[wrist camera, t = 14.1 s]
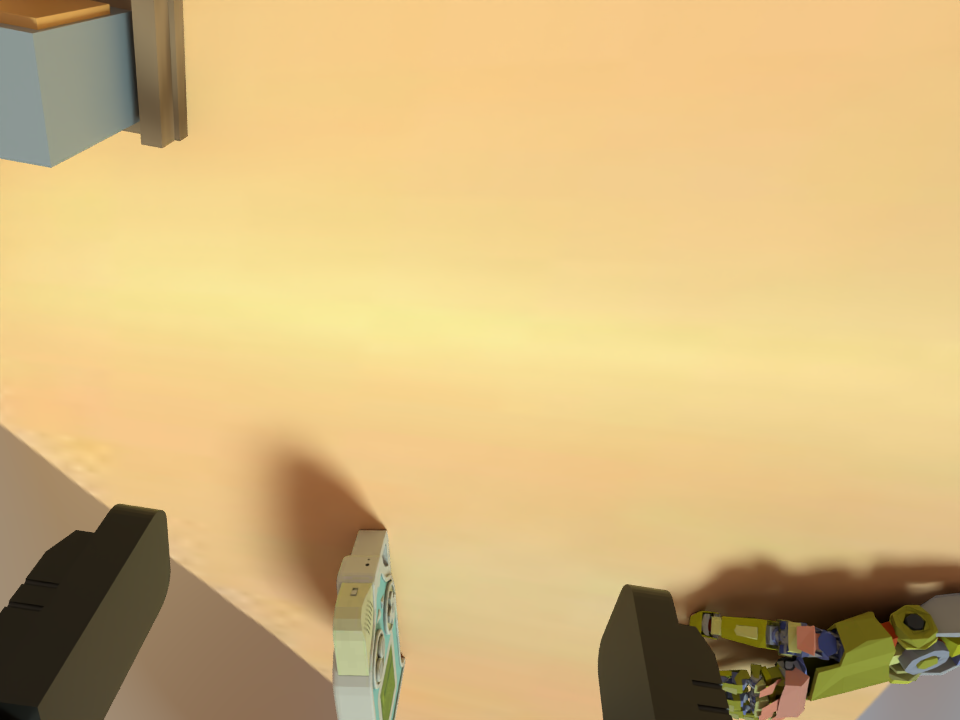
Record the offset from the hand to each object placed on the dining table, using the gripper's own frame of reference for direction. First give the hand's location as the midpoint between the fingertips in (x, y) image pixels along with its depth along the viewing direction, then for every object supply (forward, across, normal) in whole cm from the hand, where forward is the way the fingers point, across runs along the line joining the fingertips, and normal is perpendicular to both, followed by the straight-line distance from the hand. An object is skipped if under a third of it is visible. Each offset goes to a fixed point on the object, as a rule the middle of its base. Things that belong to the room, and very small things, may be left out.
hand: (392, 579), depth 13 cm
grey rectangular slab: (+28, +1, +34) cm, 45 cm away
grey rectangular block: (+27, +18, -1) cm, 32 cm away
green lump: (+29, -31, +32) cm, 53 cm away
